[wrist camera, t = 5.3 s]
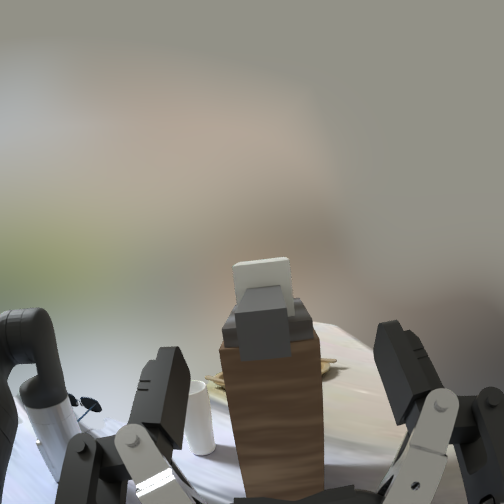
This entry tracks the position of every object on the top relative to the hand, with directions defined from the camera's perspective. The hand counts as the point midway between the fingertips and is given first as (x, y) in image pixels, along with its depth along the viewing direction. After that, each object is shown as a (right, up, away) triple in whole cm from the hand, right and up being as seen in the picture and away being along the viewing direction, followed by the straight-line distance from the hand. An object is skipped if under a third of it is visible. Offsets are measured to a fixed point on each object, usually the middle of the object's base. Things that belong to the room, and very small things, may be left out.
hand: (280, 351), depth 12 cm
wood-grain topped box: (+4, -34, +25) cm, 42 cm away
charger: (0, -3, +19) cm, 19 cm away
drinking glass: (-11, -36, +40) cm, 54 cm away
